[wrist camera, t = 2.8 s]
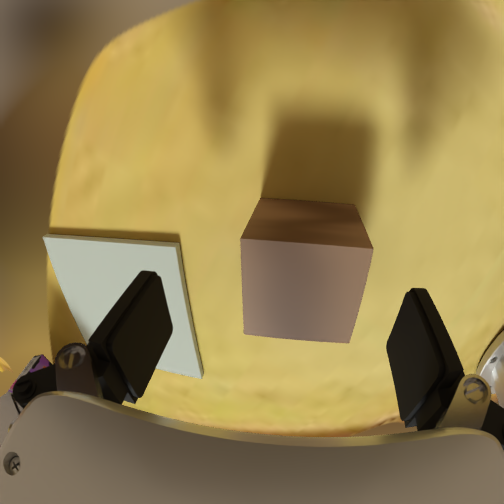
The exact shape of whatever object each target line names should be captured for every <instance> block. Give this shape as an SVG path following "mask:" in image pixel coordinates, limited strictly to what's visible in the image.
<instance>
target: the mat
mask: <svg viewBox="0 0 504 504" xmlns="http://www.w3.org/2000/svg"><path fill="white" fill-rule="evenodd" d="M43 238H44V242H45V245H46V248H47V251H48V254H49V257H50V260H51V263H52V266H53V269H54V271H55V274H56V277H57V279H58V282H59V284H60V287H61V289H62V292H63V294H64V297H65V299H66V301H67V304H68V306H69V308H70V310H71V313H72V315H73V317H74V319H75V321H76V323H77V326H78V328H79V330H80V332H81V334H82V336H83V338H84V340H85V342H86V344H88V343H89V341H88V340H89V338H90V337H91V335H92V334H93V333H94V331H95V330H96V328H97V327H98V326H99V324H100V323H101V322H102V320H103V319H104V318H105V316H106V315H107V314H108V312H109V311H110V310H111V308H112V307H113V306H114V304H115V303H116V302H117V300H118V299H119V298H120V296H121V295H122V294H123V293H124V291H125V290H126V289H127V288H128V286H129V285H130V284H131V282H132V281H133V280H134V279H135V277H136V276H137V275H138V274H139V272H140V271H142V270H146V271H155V272H156V273H157V275H158V276H160V277H161V279H162V283H163V288H164V292H165V296H166V300H167V305H168V309H169V313H170V316H171V320H172V324H173V332H172V335H171V337H170V339H169V341H168V343H167V345H166V347H165V350H164V352H163V354H162V356H161V358H160V360H159V362H158V364H157V366H156V369H160V370H164V371H168V372H172V373H177V374H181V375H186V376H190V377H195V378H200V379H202V377H203V374H204V373H203V368H202V364H201V359H200V355H199V350H198V346H197V341H196V336H195V331H194V326H193V321H192V316H191V311H190V305H189V300H188V294H187V288H186V282H185V276H184V270H183V264H182V257H181V251H180V244H179V243H175V242H161V241H146V240H132V239H117V238H102V237H87V236H72V235H57V234H47V235H45V236H44V237H43Z"/></svg>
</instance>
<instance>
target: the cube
mask: <svg viewBox="0 0 504 504" xmlns="http://www.w3.org/2000/svg"><path fill="white" fill-rule="evenodd" d="M240 241H241V270H242V297H243V323H244V334H246V335H255V336H263V337H273V338H283V339H293V340H305V341H319V342H335V343H349V342H350V339H351V336H352V332H353V329H354V326H355V322H356V319H357V315H358V312H359V308H360V304H361V300H362V297H363V293H364V289H365V285H366V281H367V276H368V272H369V268H370V263H371V259H372V254H373V246H372V244H371V241H370V239H369V237H368V234H367V232H366V230H365V227H364V225H363V223H362V220H361V218H360V216H359V214H358V211H357V209H356V207H355V205H351V204H340V203H328V202H316V201H302V200H287V199H270V198H260V200H259V202H258V204H257V206H256V208H255V210H254V212H253V214H252V216H251V218H250V220H249V222H248V224H247V226H246V228H245V230H244V232H243V234H242V236H241V238H240Z"/></svg>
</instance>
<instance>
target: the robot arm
mask: <svg viewBox="0 0 504 504" xmlns="http://www.w3.org/2000/svg"><path fill="white" fill-rule="evenodd" d="M172 332H173V324H172V320H171V316H170V313H169V309H168V305H167V300H166V296H165V292H164V288H163V283H162V279H161V277H160V276H158V275H157V273H156V272H155V271H146V270H142V271H140V272H139V274H138V275H137V276H136V277H135V279H134V280H133V281H132V282H131V284H130V285H129V286H128V288H127V289H126V290H125V291H124V293H123V294H122V295H121V296H120V298H119V299H118V300H117V302H116V303H115V304H114V306H113V307H112V308H111V310H110V311H109V312H108V314H107V315H106V316H105V318H104V319H103V320H102V322H101V323H100V324H99V326H98V327H97V328H96V330H95V331H94V333H93V334H92V335H91V337H90V338H89V340H88V341H89V343H88V344H87V346H85V345H84V344H82V343H71V344H68V345H66V346H64V347H63V348H62V349H61V350H60V351H59V352H58V353H57V355H56V358H55V364H53V365H51V366H48V367H45V368H42V369H40V370H37V371H34V372H31V373H29V374H26V375H23V376H22V377H20V378H19V379H18V380H17V381H16V383H15V384H14V387H13V392H12V393H11V392H10V391H9V392H7V393H6V394H4V395H3V396H2V397H0V504H504V330H503V331H502V332H501V333H500V334H499V335H498V337H497V338H496V339H495V340H494V342H493V343H492V344H491V345H490V347H489V348H488V350H487V351H486V353H485V354H484V356H483V358H482V360H481V361H480V363H479V366H478V368H477V371H476V374H469V375H466V376H465V375H464V372H463V370H464V369H463V367H462V364H461V362H460V359H459V357H458V355H457V352H456V350H455V347H454V345H453V343H452V341H451V338H450V336H449V334H448V332H447V329H446V327H445V325H444V323H443V321H442V319H441V317H440V315H439V313H438V311H437V309H436V307H435V305H434V303H433V301H432V299H431V297H430V295H429V293H428V291H427V290H426V289H425V288H412V289H411V290H410V291H409V292H407V293H406V294H405V297H404V299H403V302H402V305H401V308H400V311H399V313H398V316H397V319H396V321H395V324H394V326H393V329H392V331H391V334H390V336H389V338H388V341H387V346H386V349H387V354H388V358H389V362H390V367H391V371H392V376H393V381H394V385H395V390H396V396H397V401H398V406H399V412H400V418H401V420H402V421H405V427H406V428H407V427H414V426H417V429H418V431H415V432H408V433H399V434H390V435H389V434H388V435H377V436H362V437H293V436H278V435H266V434H256V433H248V432H240V431H233V430H226V429H220V428H214V427H209V426H203V425H198V424H193V423H188V422H184V421H179V420H175V419H171V418H167V417H163V416H159V415H155V414H152V413H148V412H145V411H141V410H137V409H134V408H131V407H127V406H124V405H122V403H123V401H127V402H131V403H134V404H135V403H136V401H137V399H138V398H141V397H142V396H143V394H144V392H145V390H146V387H147V385H148V383H149V381H150V379H151V377H152V375H153V372H154V370H155V368H156V366H157V364H158V362H159V360H160V358H161V356H162V354H163V352H164V350H165V347H166V345H167V343H168V341H169V339H170V337H171V335H172ZM495 393H496V395H497V398H498V401H499V404H500V406H499V405H498V404H496V403H495V402H493V401H492V400H491V394H495Z"/></svg>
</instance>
